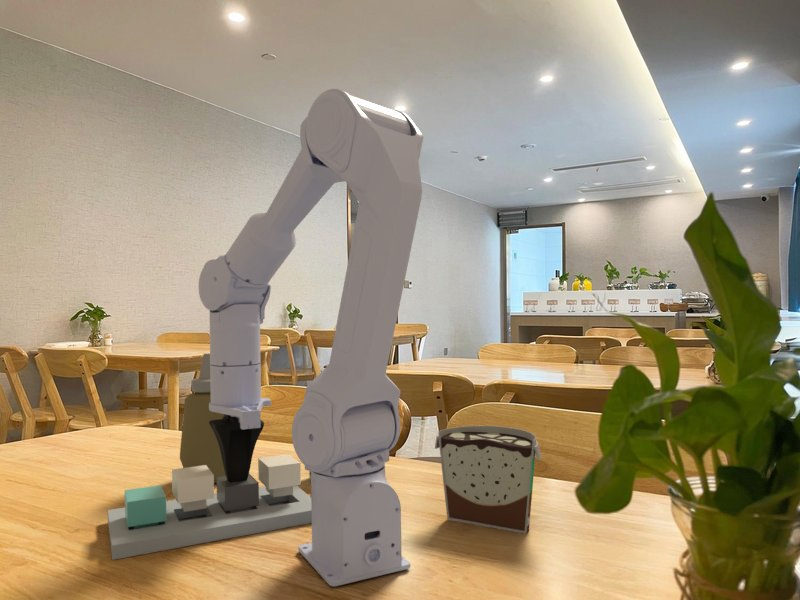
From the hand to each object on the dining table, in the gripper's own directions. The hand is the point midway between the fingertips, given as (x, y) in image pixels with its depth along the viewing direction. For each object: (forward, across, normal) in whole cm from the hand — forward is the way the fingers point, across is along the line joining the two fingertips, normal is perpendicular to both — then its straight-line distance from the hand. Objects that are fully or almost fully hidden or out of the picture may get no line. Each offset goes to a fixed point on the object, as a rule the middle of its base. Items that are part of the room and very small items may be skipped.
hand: (237, 480), depth 71 cm
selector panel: (+4, 0, +2) cm, 5 cm away
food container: (+4, -15, -26) cm, 30 cm away
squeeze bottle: (+4, +18, 0) cm, 19 cm away
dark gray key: (+4, 0, 0) cm, 4 cm away
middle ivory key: (+2, 0, +5) cm, 5 cm away
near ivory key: (+2, 0, -5) cm, 5 cm away
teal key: (+4, 0, +10) cm, 11 cm away
